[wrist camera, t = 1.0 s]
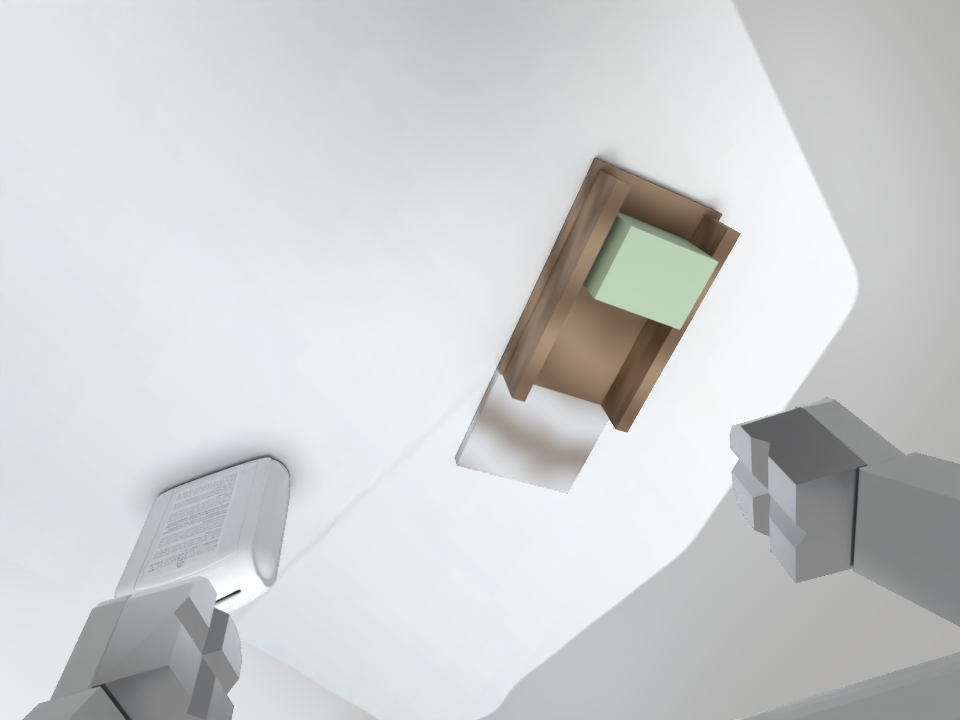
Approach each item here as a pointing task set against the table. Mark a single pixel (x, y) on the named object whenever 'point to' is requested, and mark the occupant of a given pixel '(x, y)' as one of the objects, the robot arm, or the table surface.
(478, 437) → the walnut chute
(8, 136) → the table surface
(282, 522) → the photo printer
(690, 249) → the sage block
